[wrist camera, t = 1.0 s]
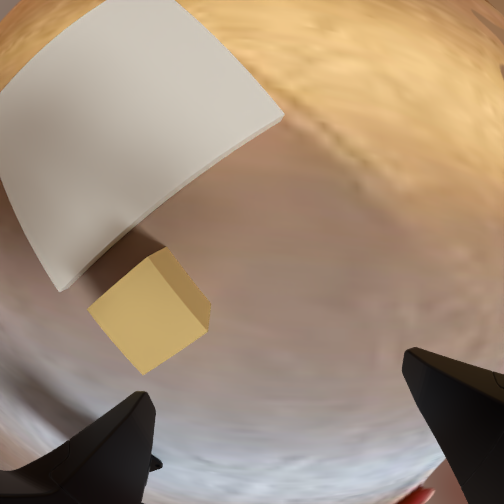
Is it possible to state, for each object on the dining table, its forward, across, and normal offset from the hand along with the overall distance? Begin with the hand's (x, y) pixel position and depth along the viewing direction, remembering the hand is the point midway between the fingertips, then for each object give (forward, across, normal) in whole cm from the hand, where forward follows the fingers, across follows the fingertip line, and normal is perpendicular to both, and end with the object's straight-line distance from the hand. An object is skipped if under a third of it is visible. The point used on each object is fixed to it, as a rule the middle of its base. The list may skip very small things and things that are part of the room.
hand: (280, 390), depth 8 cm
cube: (+11, +7, 0) cm, 13 cm away
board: (+12, +10, -15) cm, 22 cm away
